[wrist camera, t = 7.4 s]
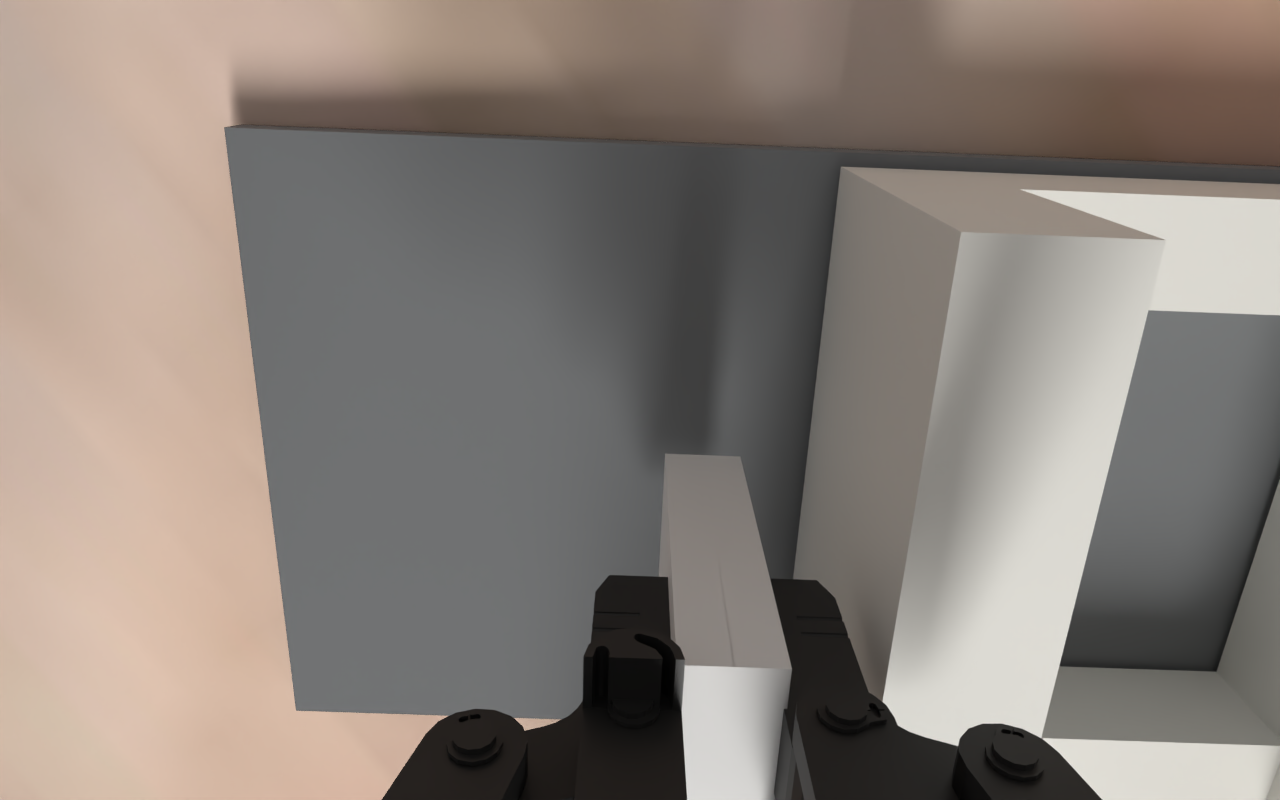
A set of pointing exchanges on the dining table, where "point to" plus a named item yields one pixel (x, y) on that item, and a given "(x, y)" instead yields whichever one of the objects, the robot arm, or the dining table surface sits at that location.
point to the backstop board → (635, 399)
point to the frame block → (1024, 459)
